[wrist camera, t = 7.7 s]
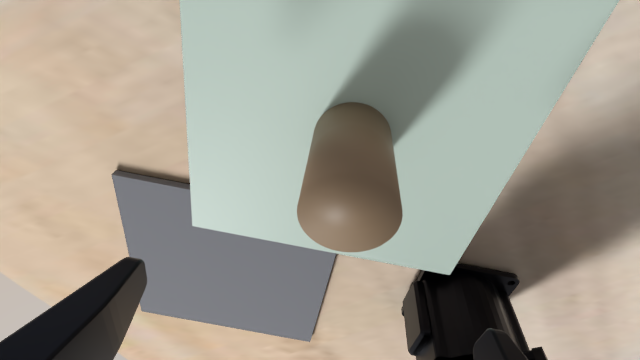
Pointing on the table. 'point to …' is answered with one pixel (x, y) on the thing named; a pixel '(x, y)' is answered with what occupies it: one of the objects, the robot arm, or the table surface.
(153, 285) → the rubber mat
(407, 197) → the board
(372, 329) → the table surface
